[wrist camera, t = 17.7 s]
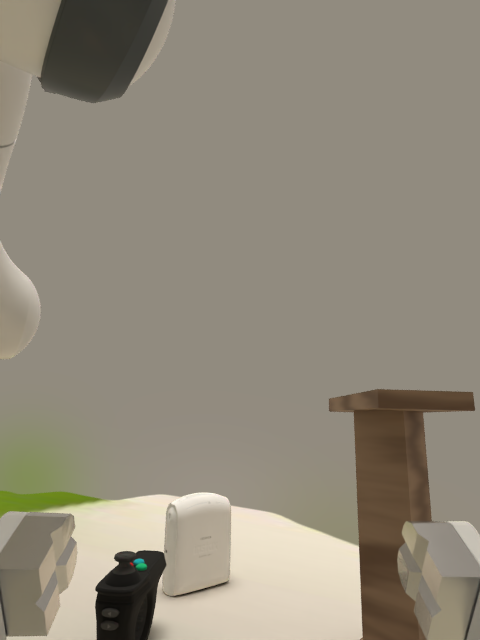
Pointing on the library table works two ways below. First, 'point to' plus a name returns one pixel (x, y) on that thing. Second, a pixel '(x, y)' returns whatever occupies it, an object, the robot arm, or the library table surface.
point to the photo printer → (197, 543)
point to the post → (391, 495)
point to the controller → (129, 596)
